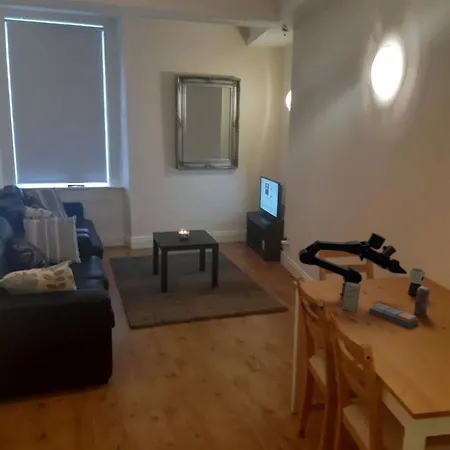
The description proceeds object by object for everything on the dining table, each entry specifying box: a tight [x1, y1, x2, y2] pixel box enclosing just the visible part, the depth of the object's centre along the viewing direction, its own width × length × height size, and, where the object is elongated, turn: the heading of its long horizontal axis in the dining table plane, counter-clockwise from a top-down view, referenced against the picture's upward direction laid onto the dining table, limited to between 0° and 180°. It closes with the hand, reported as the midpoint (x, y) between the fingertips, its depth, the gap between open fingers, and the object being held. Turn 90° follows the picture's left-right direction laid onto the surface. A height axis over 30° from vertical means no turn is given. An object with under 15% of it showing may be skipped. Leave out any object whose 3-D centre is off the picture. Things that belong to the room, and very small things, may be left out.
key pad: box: [368, 302, 419, 329], centre depth 214 cm, size 20×7×4 cm, turn 41°
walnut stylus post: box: [413, 285, 431, 318], centre depth 219 cm, size 4×4×13 cm
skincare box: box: [341, 282, 361, 313], centre depth 221 cm, size 6×4×12 cm
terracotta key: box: [397, 311, 417, 323], centre depth 210 cm, size 6×6×2 cm
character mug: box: [407, 267, 426, 296], centre depth 245 cm, size 11×7×13 cm, turn 158°
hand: (402, 271), depth 234 cm, fingers open, 9 cm apart
